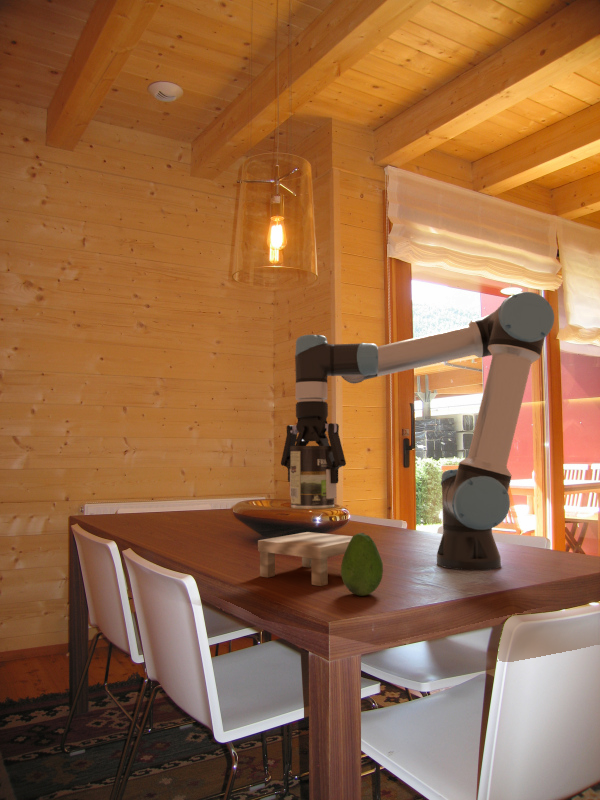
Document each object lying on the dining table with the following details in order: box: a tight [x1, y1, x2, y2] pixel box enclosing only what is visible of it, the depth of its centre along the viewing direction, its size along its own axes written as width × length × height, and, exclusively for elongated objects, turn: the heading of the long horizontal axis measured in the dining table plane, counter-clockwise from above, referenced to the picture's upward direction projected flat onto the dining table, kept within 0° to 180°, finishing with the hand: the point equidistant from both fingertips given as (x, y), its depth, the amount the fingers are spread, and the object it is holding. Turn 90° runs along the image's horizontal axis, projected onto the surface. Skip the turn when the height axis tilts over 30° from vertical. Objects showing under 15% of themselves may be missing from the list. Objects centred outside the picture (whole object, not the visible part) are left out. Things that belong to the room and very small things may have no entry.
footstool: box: [257, 531, 354, 587], centre depth 140 cm, size 18×18×8 cm
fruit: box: [340, 532, 384, 597], centre depth 120 cm, size 8×8×12 cm
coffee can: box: [290, 445, 335, 510], centre depth 142 cm, size 10×10×14 cm
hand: (312, 497), depth 141 cm, fingers closed on coffee can, 10 cm apart
